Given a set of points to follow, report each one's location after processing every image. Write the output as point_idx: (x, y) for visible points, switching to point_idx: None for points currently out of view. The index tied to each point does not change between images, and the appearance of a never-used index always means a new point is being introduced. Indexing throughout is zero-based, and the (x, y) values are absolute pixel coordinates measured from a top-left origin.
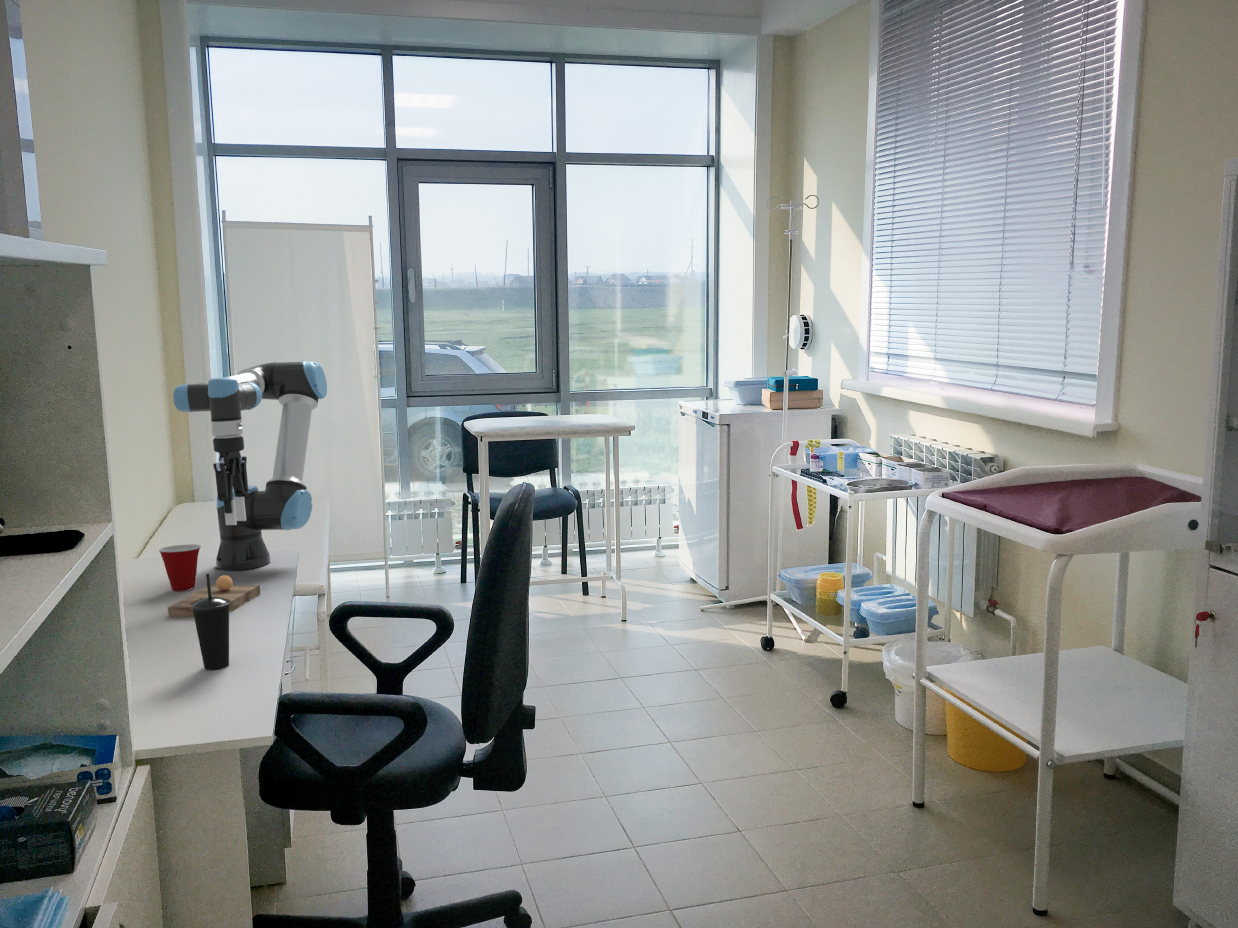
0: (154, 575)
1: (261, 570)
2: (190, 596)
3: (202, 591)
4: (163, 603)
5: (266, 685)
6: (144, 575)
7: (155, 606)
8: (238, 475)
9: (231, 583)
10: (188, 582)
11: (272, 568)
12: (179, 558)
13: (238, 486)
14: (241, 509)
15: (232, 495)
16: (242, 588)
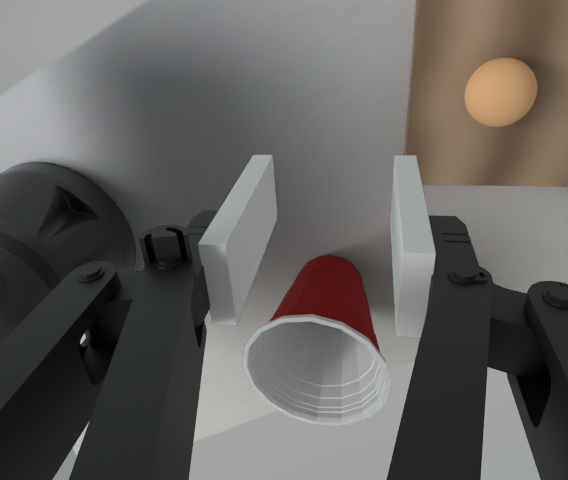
0: (210, 393)
1: (105, 144)
2: (560, 179)
3: (492, 168)
4: (494, 264)
5: None
6: (213, 411)
7: (527, 272)
8: (156, 475)
9: (505, 58)
10: (348, 271)
11: (74, 118)
12: (374, 337)
13: (186, 355)
14: (256, 209)
15: (433, 294)
16: (473, 19)
